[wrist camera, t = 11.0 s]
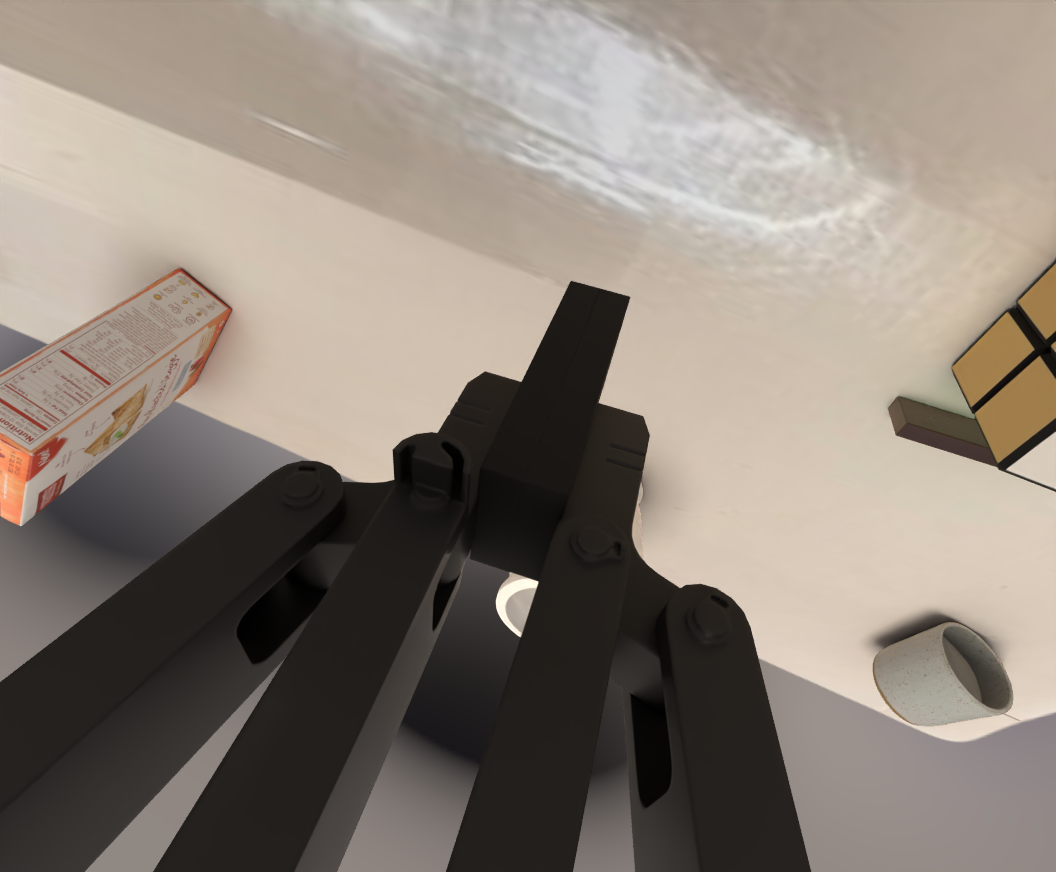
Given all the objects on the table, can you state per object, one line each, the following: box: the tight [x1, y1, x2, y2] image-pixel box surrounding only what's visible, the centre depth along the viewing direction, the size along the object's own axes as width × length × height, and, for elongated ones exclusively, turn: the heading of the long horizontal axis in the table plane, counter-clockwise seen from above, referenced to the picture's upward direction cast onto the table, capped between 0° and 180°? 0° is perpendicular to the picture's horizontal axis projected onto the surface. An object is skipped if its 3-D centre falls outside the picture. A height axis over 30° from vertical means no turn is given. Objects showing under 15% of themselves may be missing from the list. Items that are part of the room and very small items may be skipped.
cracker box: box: [0, 269, 231, 526], centre depth 48 cm, size 14×6×21 cm, turn 139°
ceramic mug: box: [873, 622, 1013, 726], centre depth 51 cm, size 11×8×8 cm
